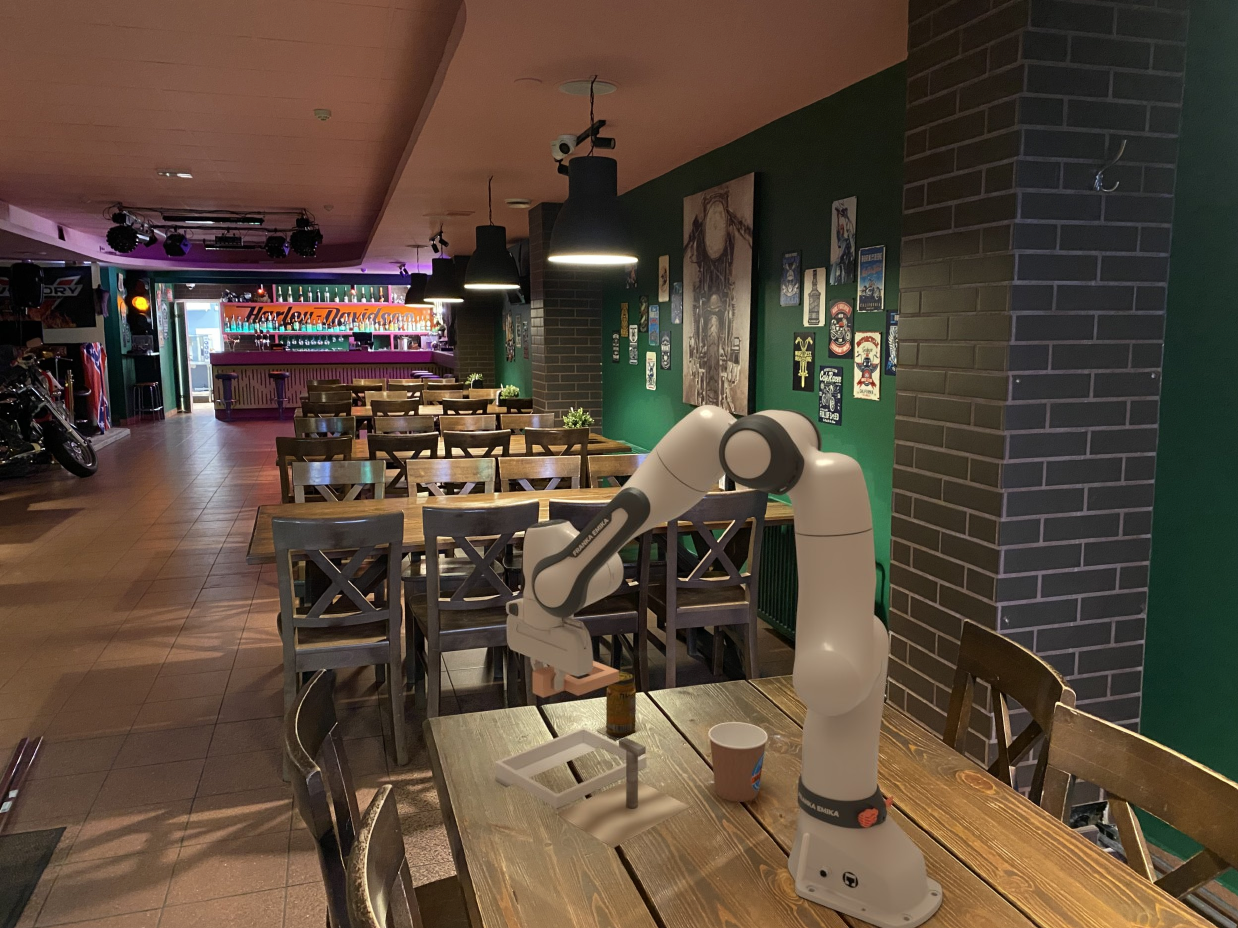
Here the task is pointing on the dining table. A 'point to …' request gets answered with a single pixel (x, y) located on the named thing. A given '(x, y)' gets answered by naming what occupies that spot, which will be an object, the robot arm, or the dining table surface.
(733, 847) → the dining table surface
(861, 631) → the robot arm
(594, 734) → the tray
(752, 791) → the coffee cup
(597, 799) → the board
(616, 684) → the condiment
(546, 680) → the square frame with stem
